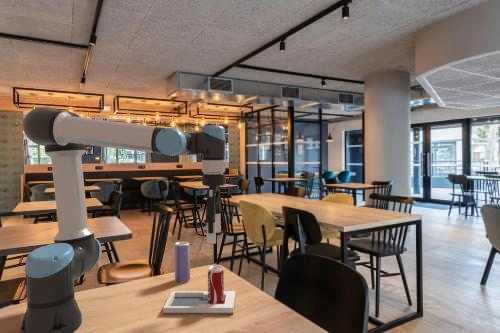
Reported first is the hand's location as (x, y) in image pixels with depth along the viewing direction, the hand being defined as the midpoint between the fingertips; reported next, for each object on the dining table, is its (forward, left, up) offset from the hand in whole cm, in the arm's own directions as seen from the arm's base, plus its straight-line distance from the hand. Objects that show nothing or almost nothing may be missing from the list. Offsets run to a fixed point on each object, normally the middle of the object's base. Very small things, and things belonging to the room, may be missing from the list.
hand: (214, 237), depth 105 cm
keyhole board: (-4, 0, -23) cm, 23 cm away
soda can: (+1, 0, -22) cm, 22 cm away
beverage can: (-15, +21, -23) cm, 35 cm away
